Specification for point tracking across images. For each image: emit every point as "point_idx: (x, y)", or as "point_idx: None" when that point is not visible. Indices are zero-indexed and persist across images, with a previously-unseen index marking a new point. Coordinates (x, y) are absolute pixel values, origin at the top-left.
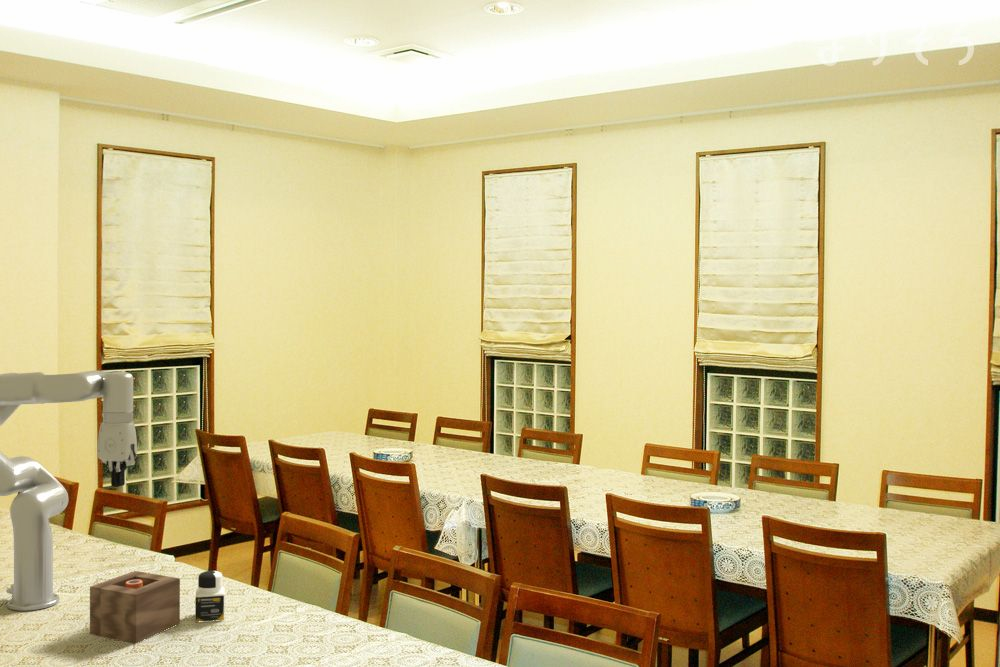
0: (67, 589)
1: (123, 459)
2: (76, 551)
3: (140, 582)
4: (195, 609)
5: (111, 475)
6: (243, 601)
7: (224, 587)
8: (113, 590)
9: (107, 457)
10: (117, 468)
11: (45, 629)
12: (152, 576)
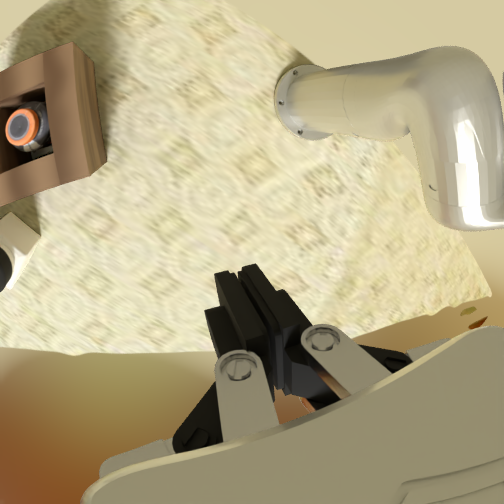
0: (324, 178)
1: (85, 496)
2: (415, 282)
3: (6, 135)
4: (2, 218)
5: (283, 305)
6: (51, 313)
7: (7, 287)
8: (11, 67)
9: (407, 404)
10: (253, 379)
11: (180, 31)
12: (25, 179)
